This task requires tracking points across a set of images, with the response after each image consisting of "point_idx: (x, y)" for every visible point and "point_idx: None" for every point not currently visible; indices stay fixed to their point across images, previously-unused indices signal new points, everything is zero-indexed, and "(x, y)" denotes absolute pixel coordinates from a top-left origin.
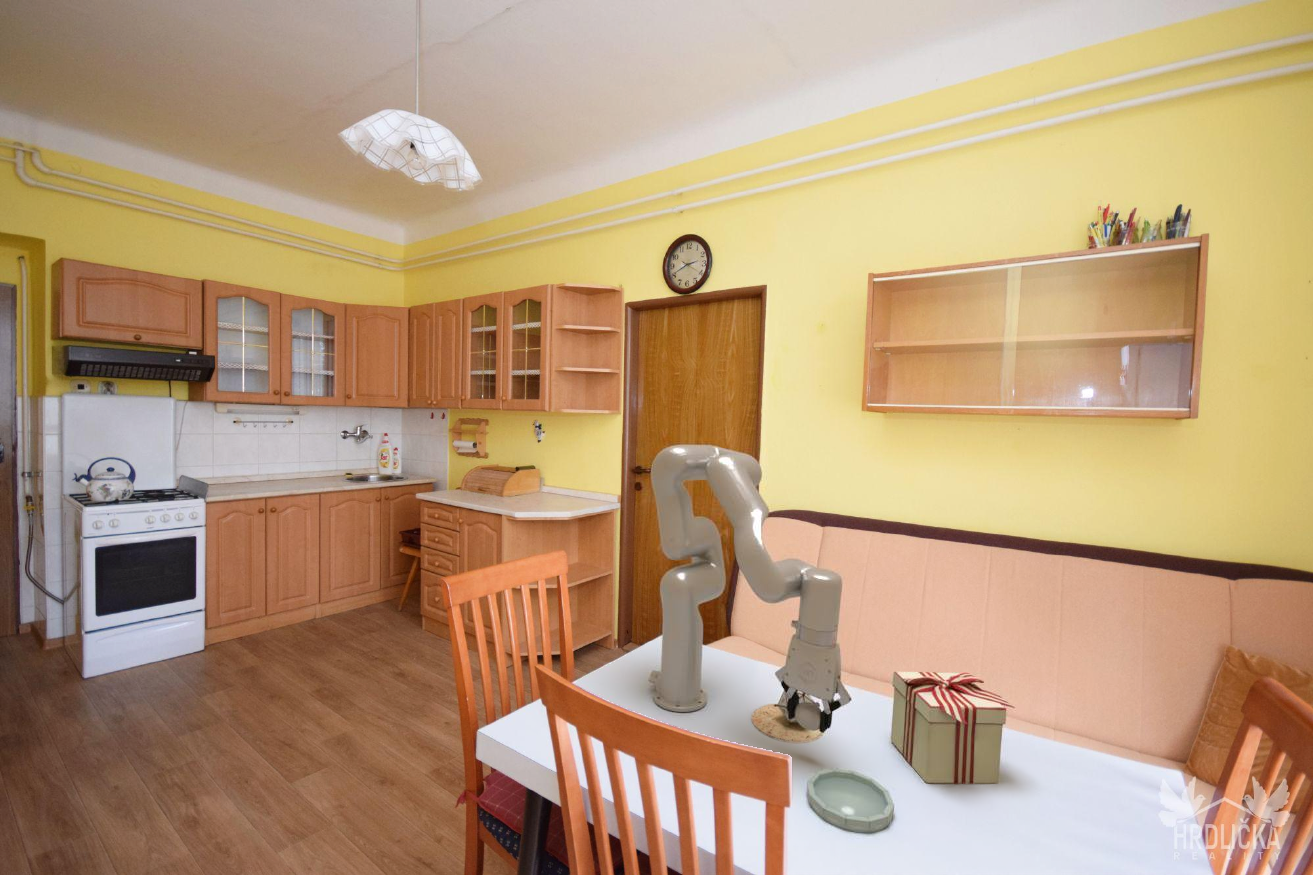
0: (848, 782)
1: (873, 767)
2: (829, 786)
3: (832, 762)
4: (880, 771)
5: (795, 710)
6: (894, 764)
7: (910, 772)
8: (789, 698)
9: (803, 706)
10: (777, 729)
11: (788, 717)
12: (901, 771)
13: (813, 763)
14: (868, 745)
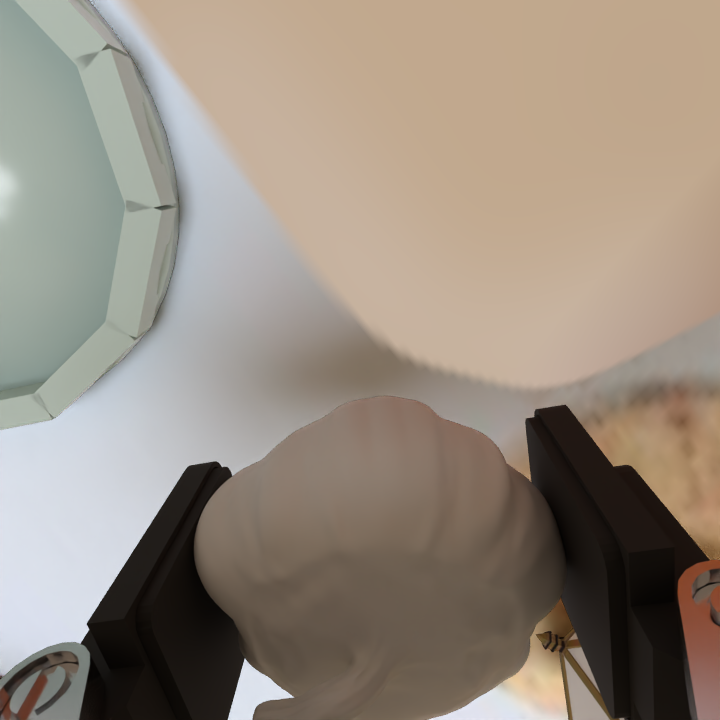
0: (33, 331)
1: (118, 570)
2: (57, 195)
3: (262, 453)
4: (78, 567)
5: (528, 498)
6: None
7: (6, 655)
8: (698, 581)
9: (433, 575)
10: (658, 479)
11: (561, 407)
12: (31, 634)
13: (319, 364)
14: (253, 690)
